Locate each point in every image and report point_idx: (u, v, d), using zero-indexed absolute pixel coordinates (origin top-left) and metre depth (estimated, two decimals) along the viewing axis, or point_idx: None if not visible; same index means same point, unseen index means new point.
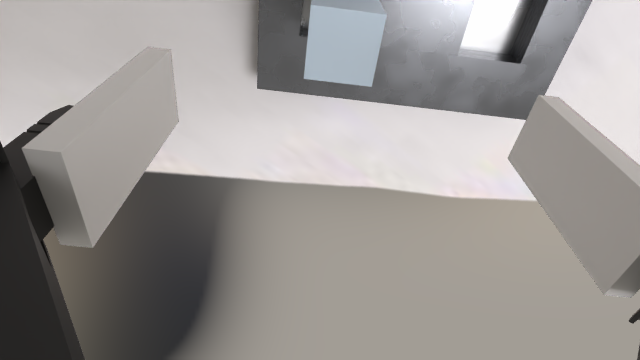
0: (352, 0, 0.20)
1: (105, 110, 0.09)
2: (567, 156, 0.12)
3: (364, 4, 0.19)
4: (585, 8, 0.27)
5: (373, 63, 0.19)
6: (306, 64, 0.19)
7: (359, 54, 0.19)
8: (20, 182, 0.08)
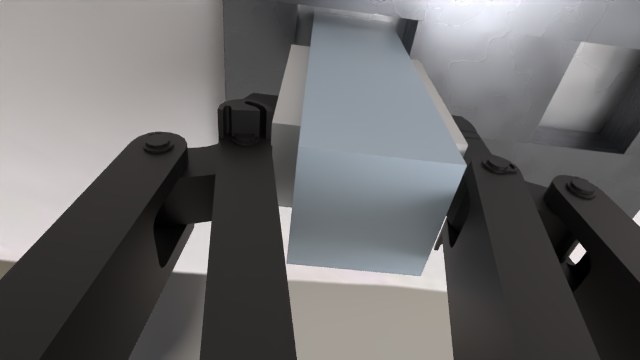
0: (384, 111, 0.10)
1: None
2: None
3: (410, 125, 0.09)
4: None
5: (427, 243, 0.09)
6: (291, 243, 0.10)
7: (399, 229, 0.09)
8: None
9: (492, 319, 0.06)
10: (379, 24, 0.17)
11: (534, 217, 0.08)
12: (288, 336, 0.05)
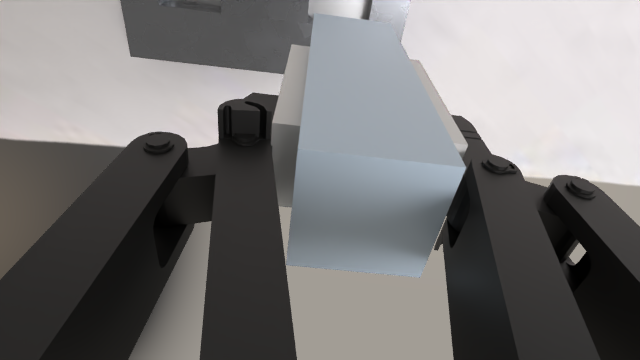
0: (383, 112, 0.10)
1: None
2: None
3: (410, 126, 0.09)
4: None
5: (427, 244, 0.09)
6: (291, 245, 0.10)
7: (399, 231, 0.09)
8: None
9: (492, 319, 0.06)
10: (379, 25, 0.17)
11: (534, 217, 0.08)
12: (288, 336, 0.05)
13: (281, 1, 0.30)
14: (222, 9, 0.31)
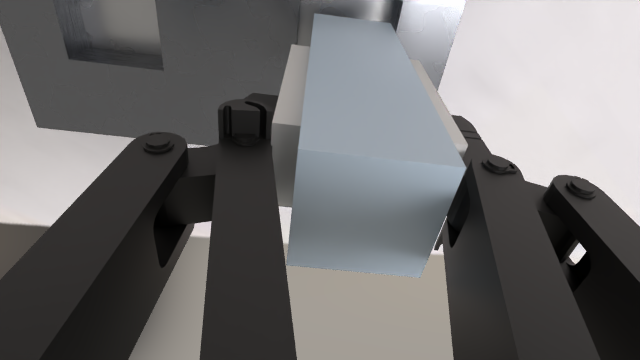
0: (384, 112, 0.10)
1: None
2: None
3: (410, 127, 0.09)
4: (454, 22, 0.19)
5: (427, 244, 0.09)
6: (291, 245, 0.10)
7: (399, 231, 0.09)
8: None
9: (492, 319, 0.06)
10: (379, 25, 0.17)
11: (534, 217, 0.08)
12: (288, 336, 0.05)
13: (253, 55, 0.20)
14: (165, 65, 0.20)
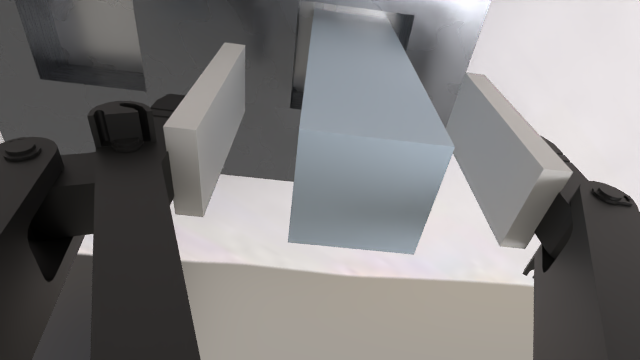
0: (379, 98, 0.10)
1: (215, 96, 0.10)
2: (481, 126, 0.13)
3: (403, 111, 0.10)
4: (472, 39, 0.17)
5: (420, 222, 0.10)
6: (292, 222, 0.10)
7: (393, 208, 0.10)
8: None
9: (585, 343, 0.06)
10: (376, 20, 0.18)
11: None
12: (191, 346, 0.05)
13: (246, 75, 0.18)
14: (147, 86, 0.18)
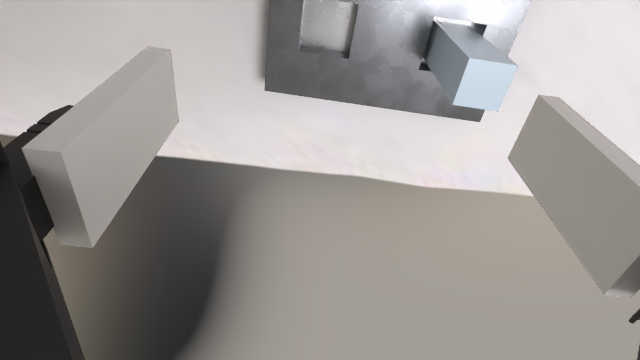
0: (487, 53, 0.29)
1: (105, 110, 0.09)
2: (566, 156, 0.12)
3: (497, 56, 0.29)
4: (513, 36, 0.36)
5: (502, 96, 0.29)
6: (456, 95, 0.29)
7: (493, 90, 0.28)
8: (20, 182, 0.08)
9: None
10: (465, 26, 0.36)
11: None
12: None
13: (400, 51, 0.37)
14: (350, 56, 0.37)
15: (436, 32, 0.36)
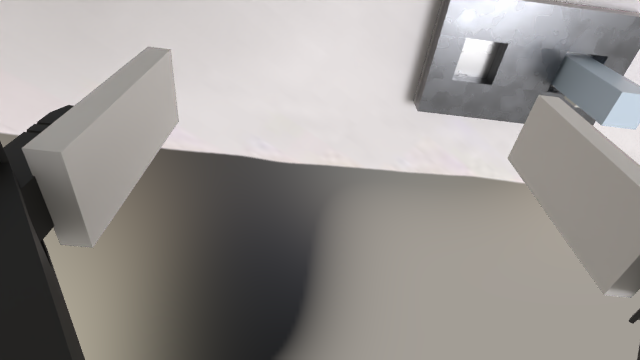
0: (628, 85, 0.38)
1: (105, 110, 0.09)
2: (566, 156, 0.12)
3: (637, 88, 0.38)
4: (627, 65, 0.45)
5: None
6: (606, 118, 0.38)
7: (635, 114, 0.38)
8: (20, 182, 0.08)
9: None
10: (587, 57, 0.46)
11: None
12: None
13: (535, 78, 0.46)
14: (493, 82, 0.46)
15: (566, 63, 0.45)
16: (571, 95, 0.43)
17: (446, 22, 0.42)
